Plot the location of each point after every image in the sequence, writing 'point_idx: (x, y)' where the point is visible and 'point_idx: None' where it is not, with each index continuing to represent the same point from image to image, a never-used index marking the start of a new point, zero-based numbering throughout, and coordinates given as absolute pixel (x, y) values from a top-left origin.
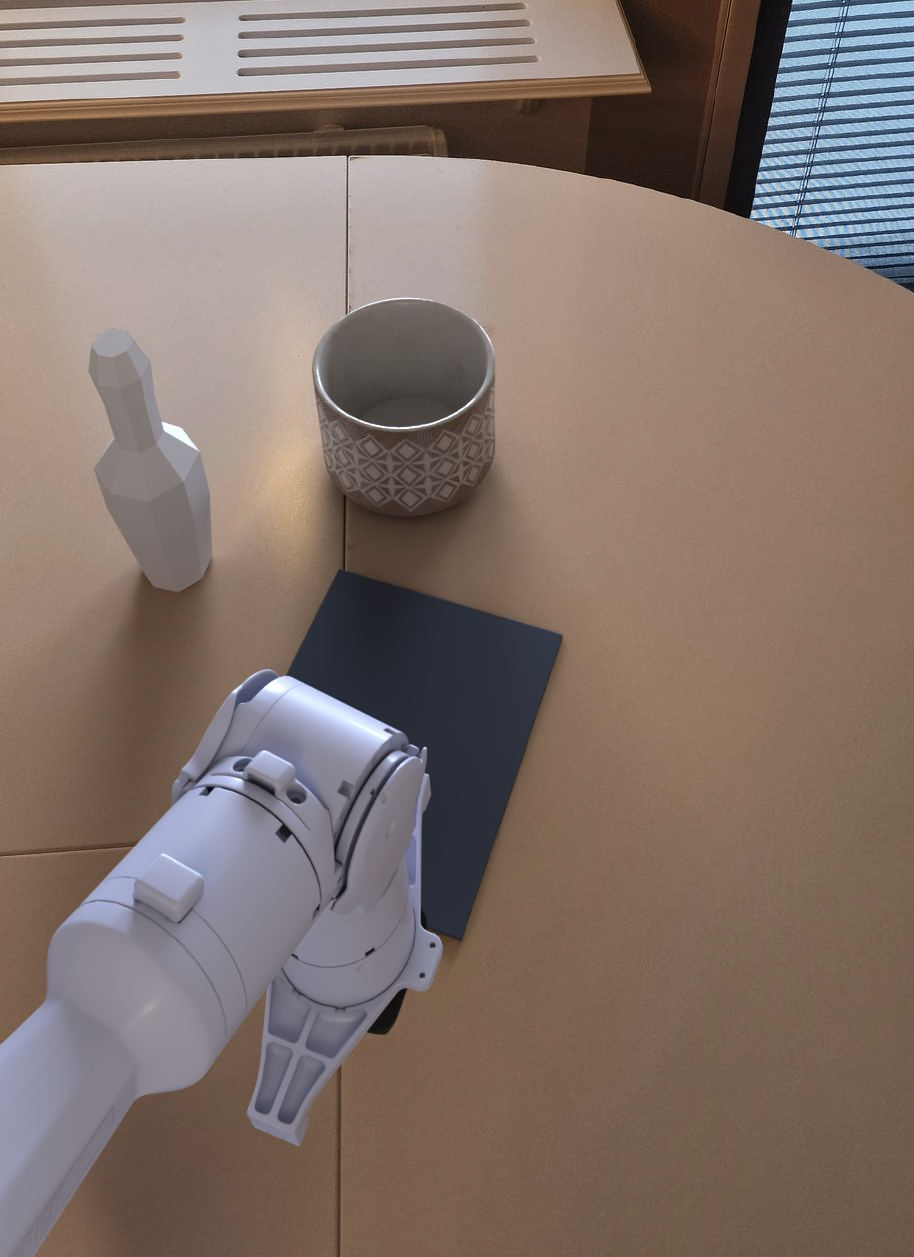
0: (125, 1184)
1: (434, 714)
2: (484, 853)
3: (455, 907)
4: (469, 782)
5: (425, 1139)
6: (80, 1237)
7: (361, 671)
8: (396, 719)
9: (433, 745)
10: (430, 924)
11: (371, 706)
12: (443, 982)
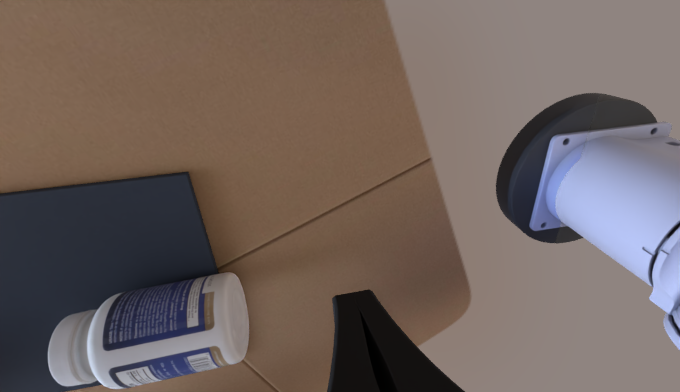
0: (438, 283)
1: (8, 289)
2: (96, 190)
3: (163, 191)
4: (42, 232)
5: (348, 129)
6: (468, 286)
7: (30, 352)
8: (44, 311)
9: (37, 275)
10: (192, 203)
11: (52, 331)
12: (229, 170)
